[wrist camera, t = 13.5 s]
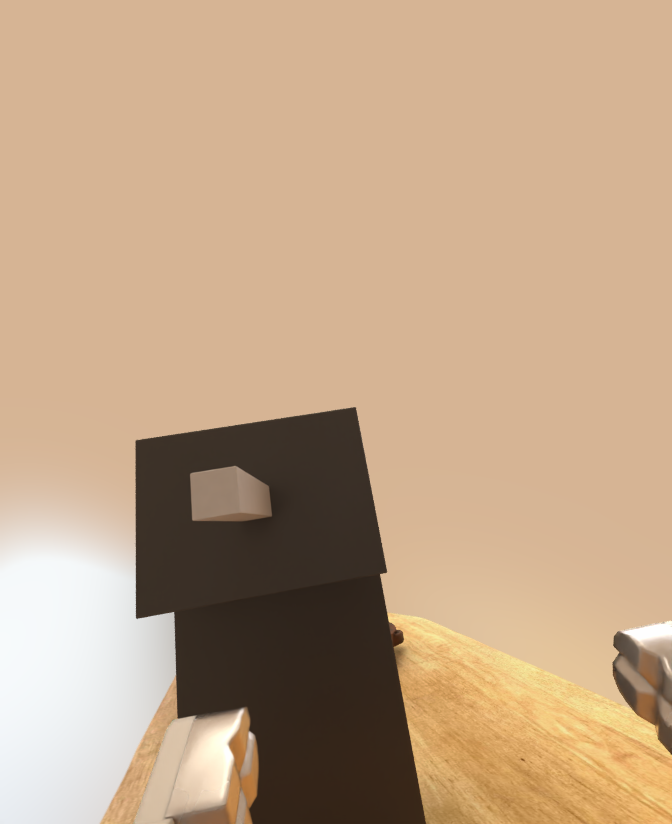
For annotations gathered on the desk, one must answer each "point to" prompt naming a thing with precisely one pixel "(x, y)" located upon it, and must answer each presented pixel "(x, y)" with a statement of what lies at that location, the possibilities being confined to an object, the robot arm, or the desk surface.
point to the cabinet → (308, 700)
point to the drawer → (253, 511)
